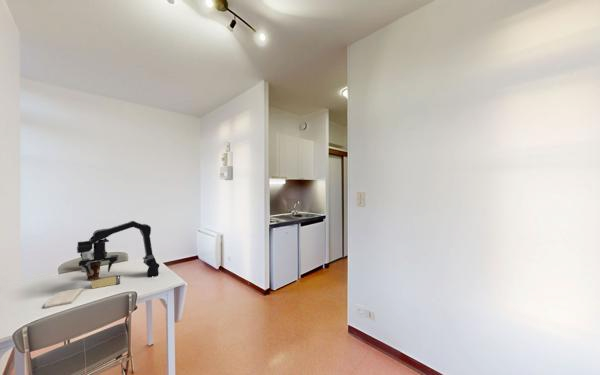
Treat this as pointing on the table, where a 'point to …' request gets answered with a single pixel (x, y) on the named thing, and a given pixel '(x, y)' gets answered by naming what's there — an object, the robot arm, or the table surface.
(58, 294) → the washcloth
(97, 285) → the swing leaf
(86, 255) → the coffee maker
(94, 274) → the brown rounded piece
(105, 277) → the block
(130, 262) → the table surface
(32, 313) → the table surface
